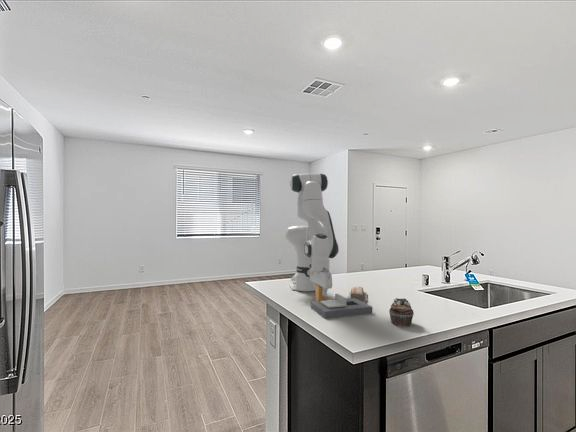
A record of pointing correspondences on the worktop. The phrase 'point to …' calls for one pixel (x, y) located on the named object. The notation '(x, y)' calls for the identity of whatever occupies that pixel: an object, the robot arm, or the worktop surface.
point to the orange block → (319, 293)
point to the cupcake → (401, 313)
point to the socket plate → (342, 309)
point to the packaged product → (358, 294)
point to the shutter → (335, 302)
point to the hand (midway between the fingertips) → (320, 293)
